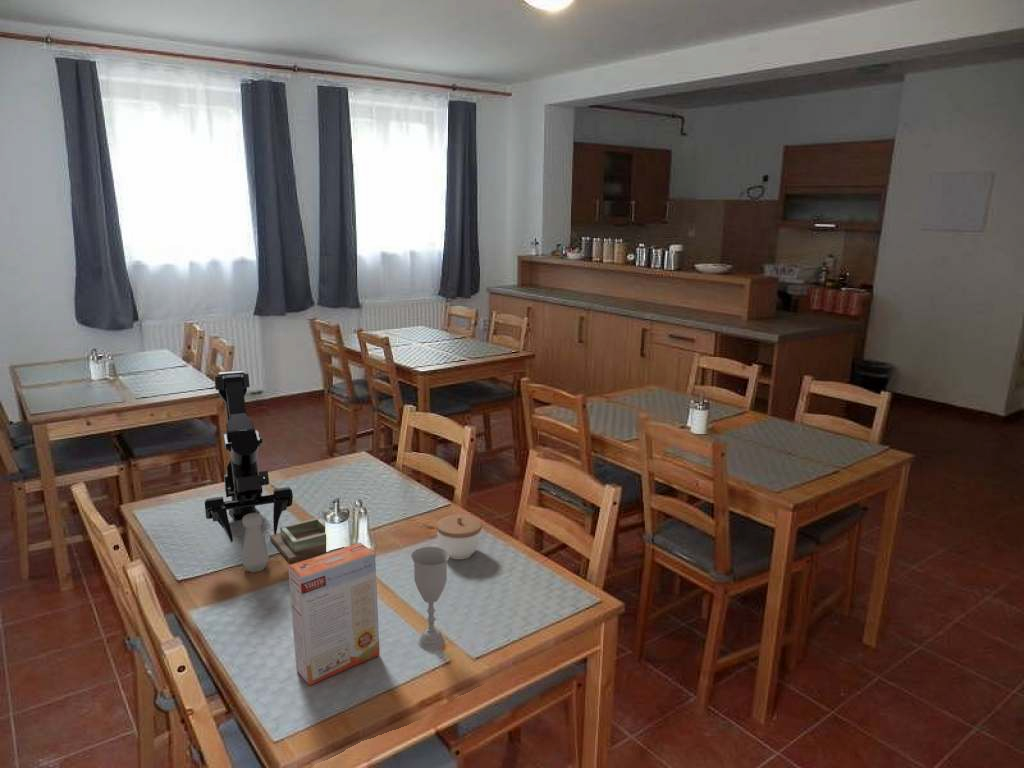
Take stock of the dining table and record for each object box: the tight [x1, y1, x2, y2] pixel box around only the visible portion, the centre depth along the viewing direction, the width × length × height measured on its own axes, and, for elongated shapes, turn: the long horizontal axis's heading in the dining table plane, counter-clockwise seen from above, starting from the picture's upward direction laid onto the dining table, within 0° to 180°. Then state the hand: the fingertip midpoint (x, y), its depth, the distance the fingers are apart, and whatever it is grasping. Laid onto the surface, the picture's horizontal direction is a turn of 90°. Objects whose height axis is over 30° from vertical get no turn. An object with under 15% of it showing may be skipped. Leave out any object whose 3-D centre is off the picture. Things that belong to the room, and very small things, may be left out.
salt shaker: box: [241, 513, 270, 573], centre depth 156 cm, size 6×6×13 cm
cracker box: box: [287, 542, 381, 686], centre depth 123 cm, size 14×6×21 cm, turn 129°
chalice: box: [410, 546, 450, 651], centre depth 130 cm, size 7×7×18 cm
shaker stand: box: [269, 517, 326, 564], centre depth 170 cm, size 14×14×4 cm
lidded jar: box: [436, 513, 483, 560], centre depth 165 cm, size 11×11×9 cm
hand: (253, 537), depth 156 cm, fingers open, 9 cm apart
